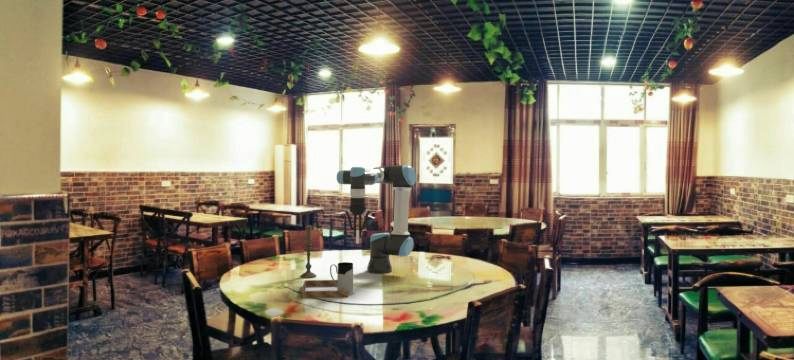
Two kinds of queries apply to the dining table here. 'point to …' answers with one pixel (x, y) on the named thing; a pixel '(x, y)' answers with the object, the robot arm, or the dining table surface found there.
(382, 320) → the dining table surface
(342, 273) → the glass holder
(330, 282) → the corral
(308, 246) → the candlestick holder
